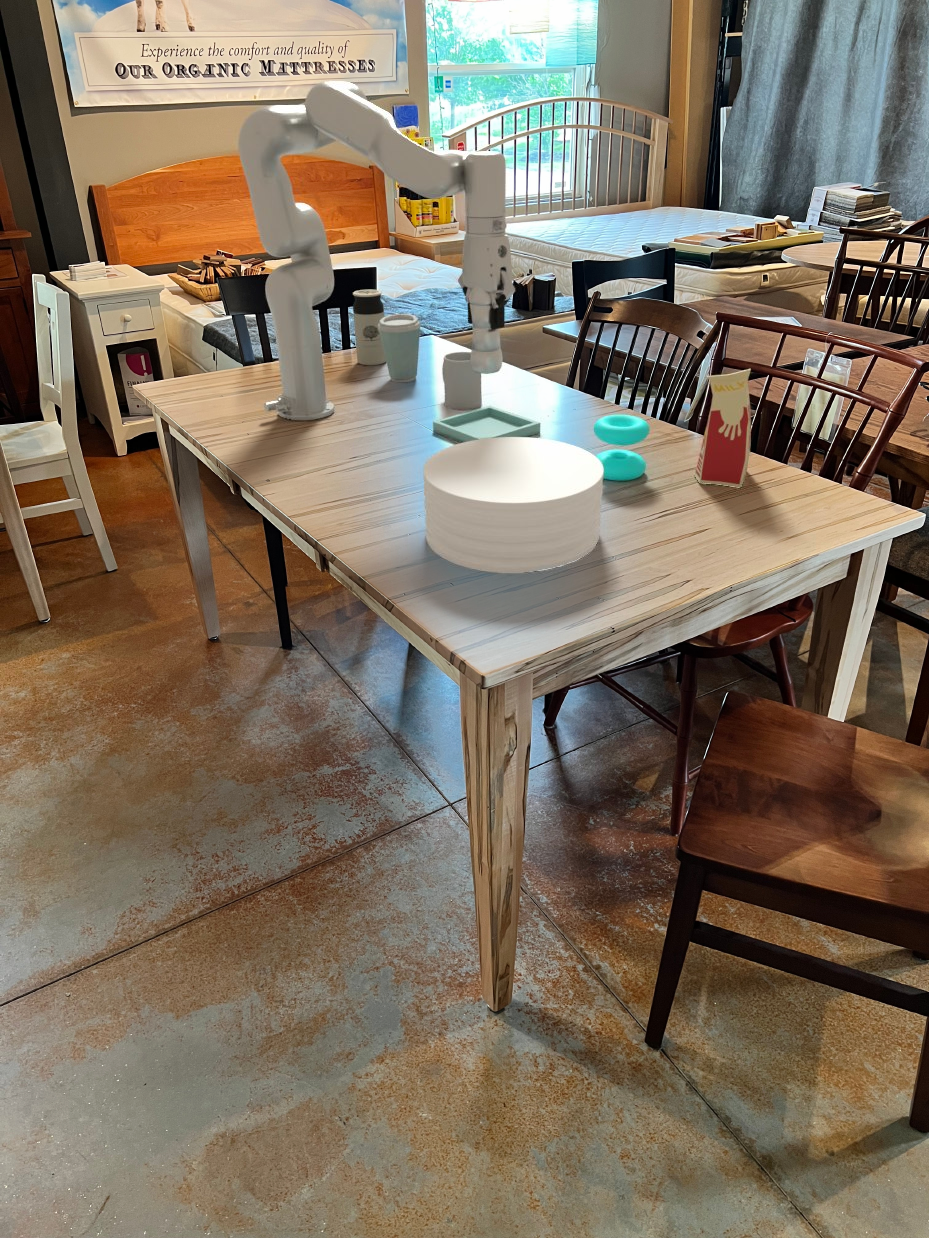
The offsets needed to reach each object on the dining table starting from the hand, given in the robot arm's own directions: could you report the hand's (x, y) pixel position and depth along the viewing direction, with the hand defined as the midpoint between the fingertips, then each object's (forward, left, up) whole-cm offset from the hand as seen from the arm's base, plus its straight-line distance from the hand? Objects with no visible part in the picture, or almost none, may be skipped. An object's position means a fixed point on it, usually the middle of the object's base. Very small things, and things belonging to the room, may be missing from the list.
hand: (486, 324), depth 171 cm
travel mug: (+15, +64, -22) cm, 69 cm away
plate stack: (-29, -40, -22) cm, 54 cm away
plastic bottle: (0, 0, -10) cm, 10 cm away
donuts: (+3, -34, -22) cm, 41 cm away
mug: (+9, +20, -22) cm, 31 cm away
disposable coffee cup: (+11, +45, -22) cm, 51 cm away
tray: (0, 0, -22) cm, 22 cm away
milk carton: (+15, -48, -22) cm, 55 cm away
